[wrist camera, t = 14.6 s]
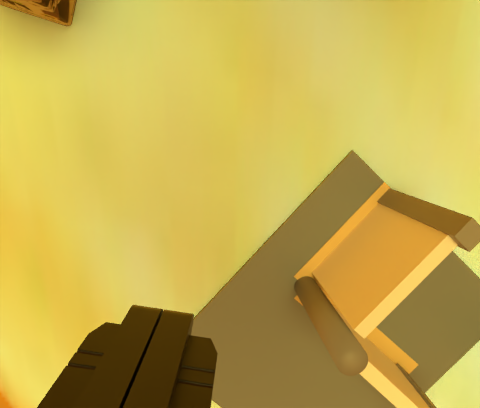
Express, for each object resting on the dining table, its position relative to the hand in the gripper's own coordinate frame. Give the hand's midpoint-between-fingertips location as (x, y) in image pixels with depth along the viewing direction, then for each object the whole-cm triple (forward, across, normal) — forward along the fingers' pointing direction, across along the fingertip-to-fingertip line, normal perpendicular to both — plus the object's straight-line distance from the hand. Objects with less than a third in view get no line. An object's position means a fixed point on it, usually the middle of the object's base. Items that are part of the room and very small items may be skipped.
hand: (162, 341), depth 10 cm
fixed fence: (+30, +13, -7) cm, 34 cm away
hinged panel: (+29, +17, -17) cm, 38 cm away
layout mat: (+30, +15, -17) cm, 38 cm away
